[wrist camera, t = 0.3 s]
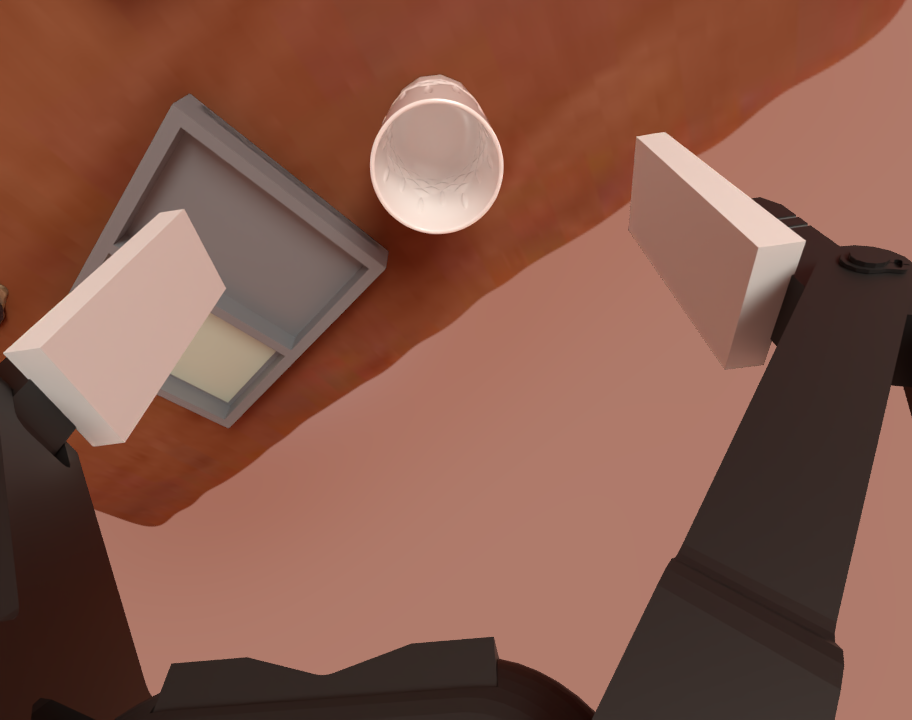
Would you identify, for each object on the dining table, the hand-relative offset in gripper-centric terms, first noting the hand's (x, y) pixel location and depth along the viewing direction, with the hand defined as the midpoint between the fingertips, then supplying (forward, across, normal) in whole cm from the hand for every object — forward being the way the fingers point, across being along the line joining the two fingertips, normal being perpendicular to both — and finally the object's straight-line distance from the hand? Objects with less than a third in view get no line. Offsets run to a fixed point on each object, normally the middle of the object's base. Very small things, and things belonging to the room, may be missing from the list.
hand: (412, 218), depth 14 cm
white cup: (+26, 0, -4) cm, 26 cm away
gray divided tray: (+25, -22, -14) cm, 37 cm away
